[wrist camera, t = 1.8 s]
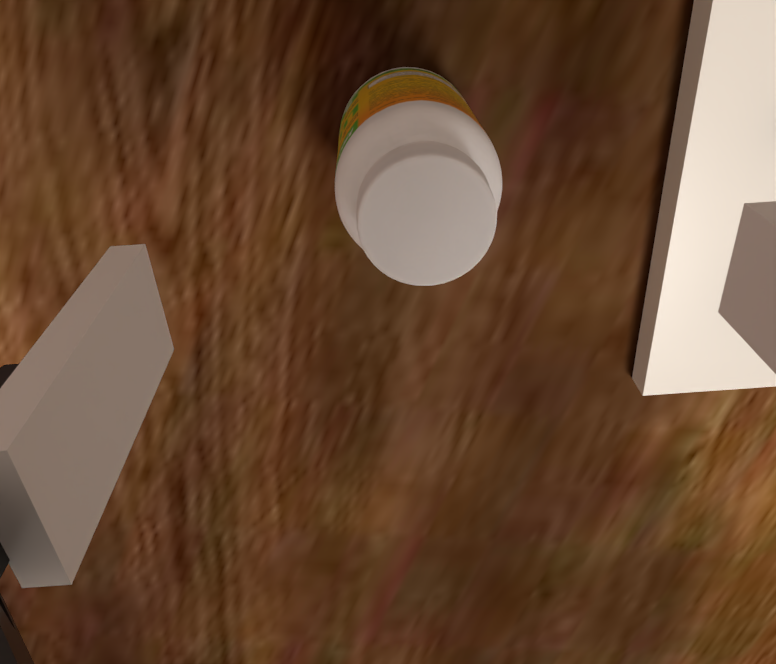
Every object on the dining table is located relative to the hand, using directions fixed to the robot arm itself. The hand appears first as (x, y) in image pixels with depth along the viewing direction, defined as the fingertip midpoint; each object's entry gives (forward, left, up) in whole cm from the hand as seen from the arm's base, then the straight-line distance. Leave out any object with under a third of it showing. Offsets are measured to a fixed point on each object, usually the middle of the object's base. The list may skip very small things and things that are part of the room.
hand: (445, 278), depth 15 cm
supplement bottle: (0, 0, -14) cm, 14 cm away
